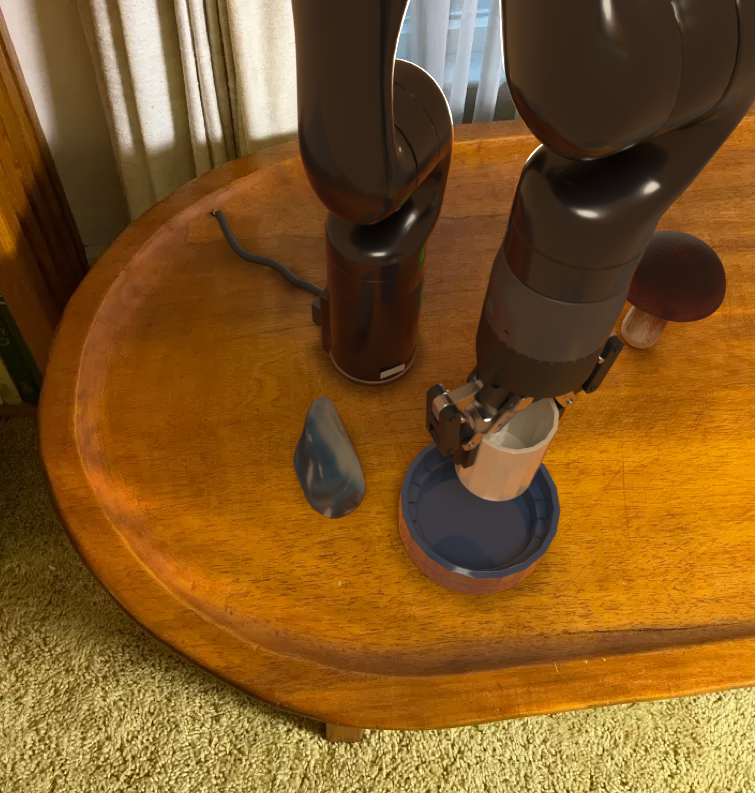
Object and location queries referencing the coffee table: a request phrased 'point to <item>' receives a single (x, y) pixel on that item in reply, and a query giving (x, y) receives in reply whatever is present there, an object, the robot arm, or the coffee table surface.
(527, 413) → the cup
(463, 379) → the coffee table surface
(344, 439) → the seashell
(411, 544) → the bowl
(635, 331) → the decorative mushroom
